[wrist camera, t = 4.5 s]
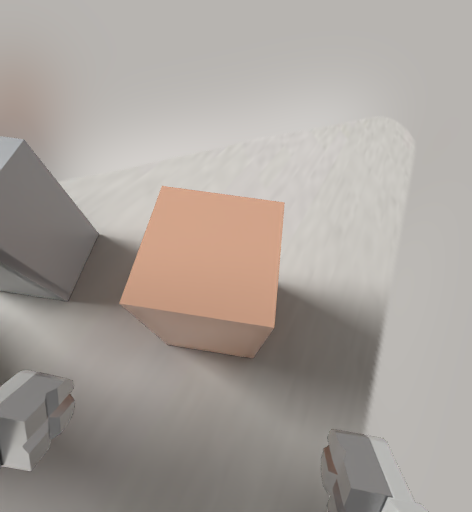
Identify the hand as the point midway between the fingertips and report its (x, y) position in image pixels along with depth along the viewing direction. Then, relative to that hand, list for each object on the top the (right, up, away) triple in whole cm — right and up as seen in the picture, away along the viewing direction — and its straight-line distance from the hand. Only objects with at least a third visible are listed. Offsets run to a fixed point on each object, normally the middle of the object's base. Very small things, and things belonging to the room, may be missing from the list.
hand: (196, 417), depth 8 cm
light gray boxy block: (-15, +5, +14) cm, 21 cm away
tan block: (0, +1, +13) cm, 13 cm away
